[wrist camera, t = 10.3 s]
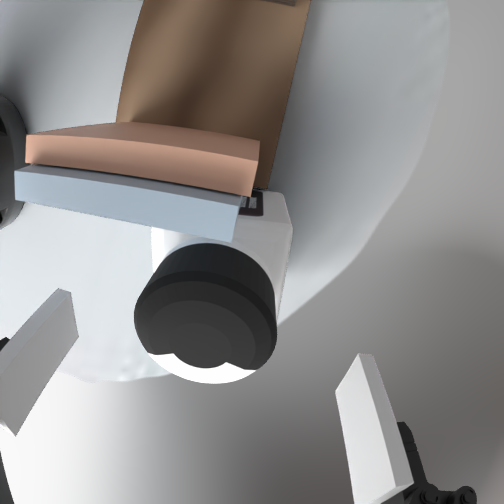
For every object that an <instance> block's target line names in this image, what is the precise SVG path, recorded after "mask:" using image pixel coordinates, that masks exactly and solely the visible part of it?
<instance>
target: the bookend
mask: <svg viewBox="0 0 504 504" xmlns="http://www.w3.org/2000/svg"><path fill="white" fill-rule="evenodd" d="M261 1H267V2H273V3H278V4H283V5H288V6H292V7H295V4H296V0H261Z"/></svg>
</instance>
